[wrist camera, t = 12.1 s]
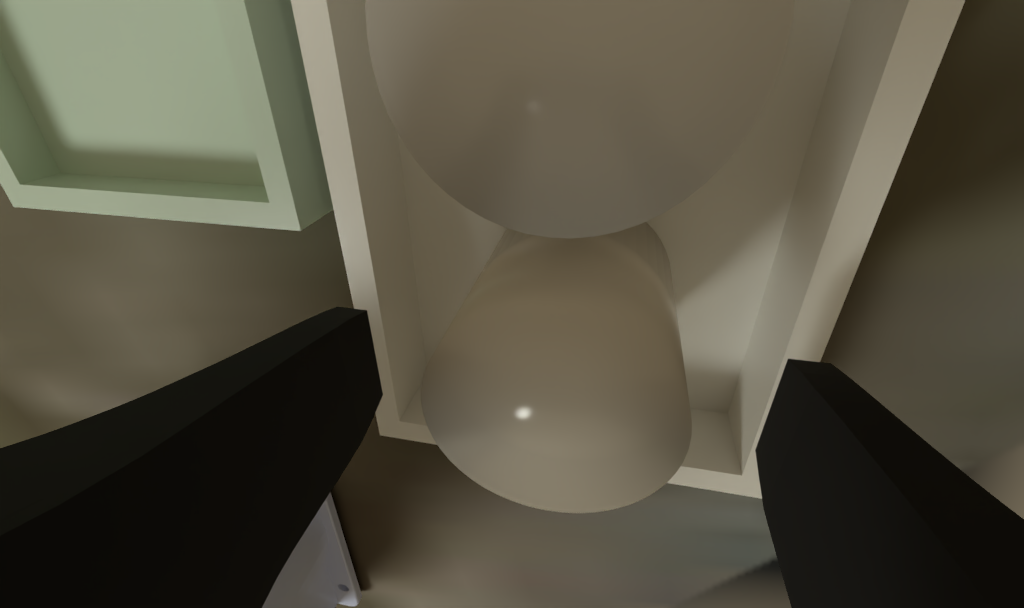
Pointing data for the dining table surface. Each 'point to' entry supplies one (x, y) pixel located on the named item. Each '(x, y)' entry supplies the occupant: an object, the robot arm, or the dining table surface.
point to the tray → (160, 111)
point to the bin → (682, 229)
